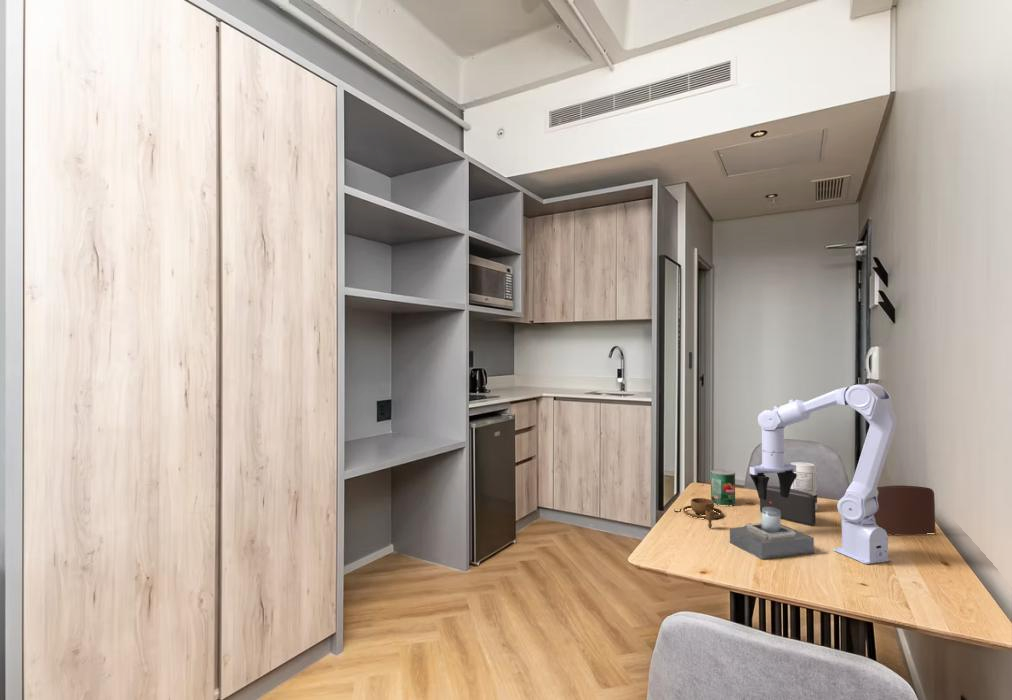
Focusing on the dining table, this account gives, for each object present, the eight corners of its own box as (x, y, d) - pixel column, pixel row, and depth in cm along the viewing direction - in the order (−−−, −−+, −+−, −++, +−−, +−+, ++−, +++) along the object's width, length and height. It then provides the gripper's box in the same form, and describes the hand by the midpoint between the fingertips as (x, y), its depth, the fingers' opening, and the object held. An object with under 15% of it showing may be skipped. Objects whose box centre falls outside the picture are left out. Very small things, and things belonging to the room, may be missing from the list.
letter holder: (936, 535, 146) (935, 485, 146) (867, 536, 145) (867, 486, 145) (908, 524, 156) (907, 477, 156) (843, 524, 155) (843, 478, 155)
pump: (783, 534, 135) (784, 512, 135) (769, 536, 134) (771, 514, 133) (770, 527, 139) (771, 505, 139) (757, 529, 138) (758, 507, 138)
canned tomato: (733, 507, 173) (733, 475, 173) (709, 504, 177) (708, 472, 177) (737, 501, 179) (736, 470, 180) (713, 498, 183) (712, 468, 184)
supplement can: (783, 506, 173) (782, 462, 173) (802, 504, 176) (801, 460, 176) (803, 513, 166) (803, 467, 166) (823, 511, 168) (822, 465, 168)
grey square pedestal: (813, 553, 133) (813, 532, 133) (761, 559, 129) (761, 538, 129) (768, 532, 148) (767, 514, 148) (720, 537, 144) (720, 519, 144)
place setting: (737, 517, 164) (737, 498, 164) (715, 533, 149) (714, 513, 149) (684, 506, 176) (684, 489, 176) (658, 520, 161) (658, 502, 161)
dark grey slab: (820, 524, 155) (819, 493, 156) (814, 527, 153) (813, 495, 153) (765, 511, 168) (765, 483, 168) (759, 514, 165) (758, 485, 165)
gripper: (783, 447, 155) (783, 492, 154) (742, 449, 151) (742, 496, 151) (801, 451, 148) (802, 498, 148) (759, 454, 144) (760, 502, 144)
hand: (773, 497), depth 149 cm, fingers open, 7 cm apart
